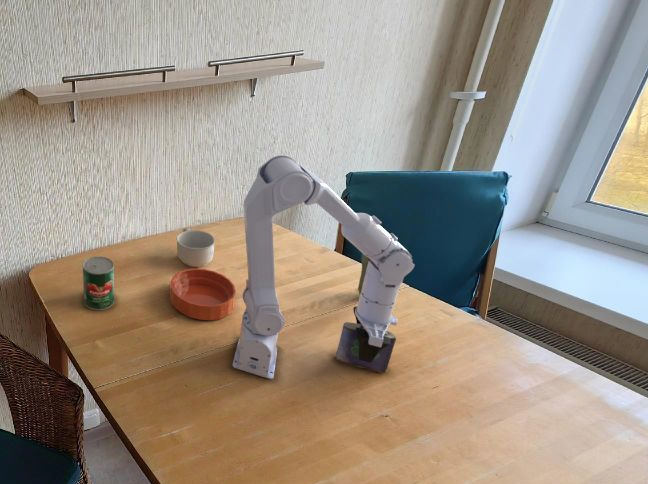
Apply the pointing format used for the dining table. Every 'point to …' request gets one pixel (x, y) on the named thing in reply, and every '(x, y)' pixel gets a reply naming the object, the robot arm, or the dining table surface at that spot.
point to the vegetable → (363, 271)
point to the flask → (350, 349)
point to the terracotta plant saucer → (202, 294)
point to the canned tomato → (98, 283)
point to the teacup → (195, 247)
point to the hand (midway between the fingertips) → (363, 350)
